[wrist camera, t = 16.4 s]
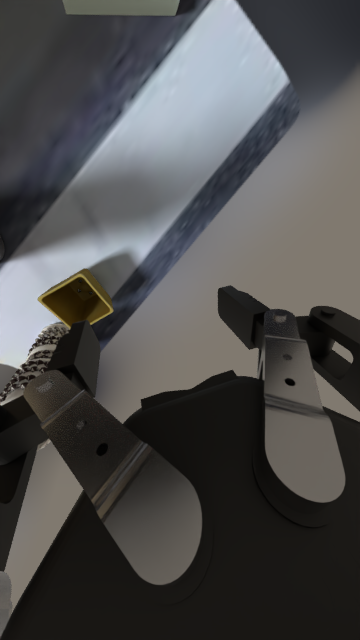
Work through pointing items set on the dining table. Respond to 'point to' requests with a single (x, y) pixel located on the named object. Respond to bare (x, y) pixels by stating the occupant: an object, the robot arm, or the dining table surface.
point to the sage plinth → (122, 7)
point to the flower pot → (78, 299)
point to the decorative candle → (34, 364)
